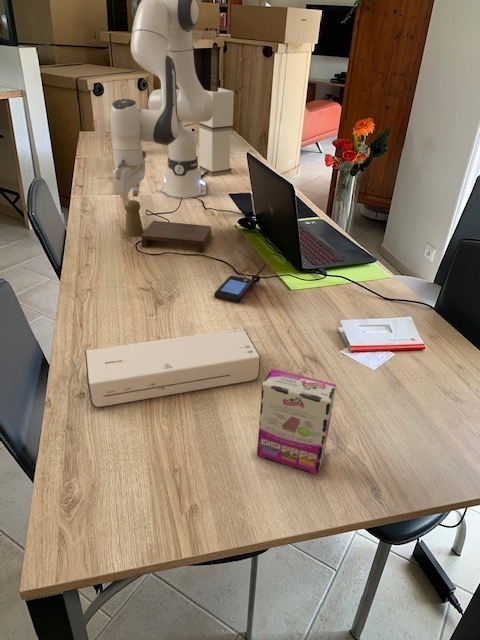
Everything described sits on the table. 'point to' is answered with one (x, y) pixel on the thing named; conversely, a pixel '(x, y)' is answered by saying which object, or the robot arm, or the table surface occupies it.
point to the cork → (133, 219)
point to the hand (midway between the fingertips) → (131, 200)
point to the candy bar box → (294, 420)
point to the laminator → (170, 367)
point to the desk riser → (177, 233)
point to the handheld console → (235, 288)
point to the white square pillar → (217, 135)
